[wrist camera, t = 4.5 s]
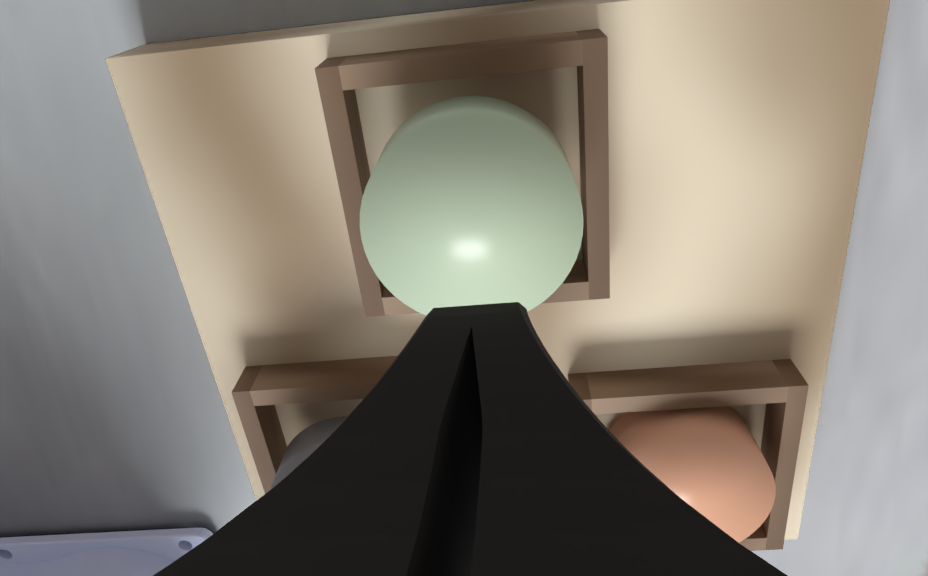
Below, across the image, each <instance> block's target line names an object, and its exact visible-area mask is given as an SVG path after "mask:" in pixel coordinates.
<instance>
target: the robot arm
mask: <svg viewBox="0 0 928 576" xmlns="http://www.w3.org/2000/svg"><path fill="white" fill-rule="evenodd" d="M0 576H787V575H785V574H784V573H783V572H781V571H780V570H778V569H777V568H775V567H774V566H772V565H771V564H769V563H768V562H766V561H765V560H763V559H762V558H760V557H759V556H757V555H756V554H754V553H753V552H751V551H750V550H748V549H747V548H745V547H744V546H742V545H741V544H740V543H738V542H737V541H736V540H734V539H733V538H732V537H730V536H729V535H728V534H727V533H725V532H724V531H723V530H721V529H720V528H719V527H717V526H716V525H715V524H714V523H712V522H711V521H710V520H708V519H707V518H706V517H704V516H703V515H702V514H701V513H699V512H698V511H697V510H695V509H694V508H693V507H692V506H690V505H689V504H688V503H686V502H685V501H684V500H682V499H681V498H680V497H679V496H678V495H676V494H675V493H674V492H673V491H672V490H671V489H670V488H668V487H667V486H666V485H665V484H664V483H663V482H662V481H661V480H659V479H658V478H657V477H656V476H655V475H654V474H653V473H652V472H650V471H649V470H648V469H647V468H646V467H645V466H644V465H643V464H642V463H641V462H640V461H639V460H638V459H637V458H636V457H635V456H634V455H633V454H632V453H631V452H630V451H629V450H627V449H626V448H625V447H624V446H623V445H622V444H621V443H620V441H619V440H618V439H617V438H616V437H615V436H614V435H613V434H612V433H611V432H610V431H609V430H608V429H607V428H606V427H605V425H604V424H603V423H602V422H601V421H600V420H599V419H598V418H597V416H596V415H595V414H594V413H593V412H592V410H591V409H590V408H589V407H588V406H587V405H586V403H585V402H584V401H583V400H582V399H581V397H580V396H579V395H578V393H577V392H576V391H575V390H574V388H573V387H572V386H571V385H570V383H569V382H568V380H567V379H566V378H565V376H564V375H563V373H562V372H561V371H560V369H559V368H558V366H557V365H556V364H555V362H554V361H553V359H552V358H551V356H550V355H549V353H548V352H547V350H546V348H545V347H544V345H543V343H542V342H541V340H540V338H539V337H538V335H537V333H536V331H535V329H534V327H533V325H532V323H531V321H530V318H529V316H528V313H527V309H526V308H525V307H524V306H523V305H521V304H520V303H519V302H510V303H496V304H482V305H468V306H454V307H440V308H433V309H432V310H431V311H430V312H429V313H428V314H427V316H426V317H425V318H424V320H423V321H422V323H421V324H420V326H419V327H418V328H417V330H416V331H415V333H414V334H413V336H412V337H411V338H410V340H409V341H408V343H407V344H406V345H405V347H404V348H403V350H402V351H401V352H400V354H399V355H398V356H397V358H396V359H395V360H394V362H393V363H392V364H391V365H390V367H389V368H388V369H387V370H386V372H385V373H384V374H383V375H382V377H381V378H380V379H379V381H378V382H377V383H376V384H375V386H374V387H373V388H372V389H371V390H370V392H369V393H368V394H367V395H366V396H365V398H364V399H363V400H362V401H361V402H360V403H359V404H358V405H357V406H356V408H355V409H354V410H353V411H352V412H351V413H350V414H349V415H348V416H347V418H346V419H345V420H344V421H343V422H342V423H341V424H340V425H339V426H338V428H337V429H336V430H335V431H334V432H333V433H332V434H331V435H330V436H329V437H328V438H327V439H326V440H325V441H324V442H323V443H322V444H321V445H320V446H319V447H318V448H317V449H316V450H315V451H314V452H313V453H312V454H311V455H310V456H309V457H308V458H306V459H305V460H304V461H303V462H302V463H301V464H300V465H299V466H298V467H296V468H295V469H294V470H293V471H292V472H291V473H290V474H289V475H288V476H286V477H285V478H284V479H283V480H282V481H281V482H279V483H278V484H277V485H276V486H275V487H274V488H272V489H271V490H270V491H268V492H267V493H266V494H265V495H263V496H262V497H261V498H259V499H258V500H257V501H255V502H254V503H253V504H252V505H250V506H249V507H248V508H246V509H245V510H244V511H243V512H241V513H240V514H239V515H237V516H236V517H235V518H234V519H232V520H231V521H230V522H228V523H227V524H226V525H225V526H223V527H222V528H221V529H219V530H218V531H217V532H215V533H214V534H213V533H212V532H211V531H210V530H208V529H205V528H179V529H160V530H140V531H121V532H101V533H81V534H62V535H42V536H23V537H3V538H0Z"/></svg>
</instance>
